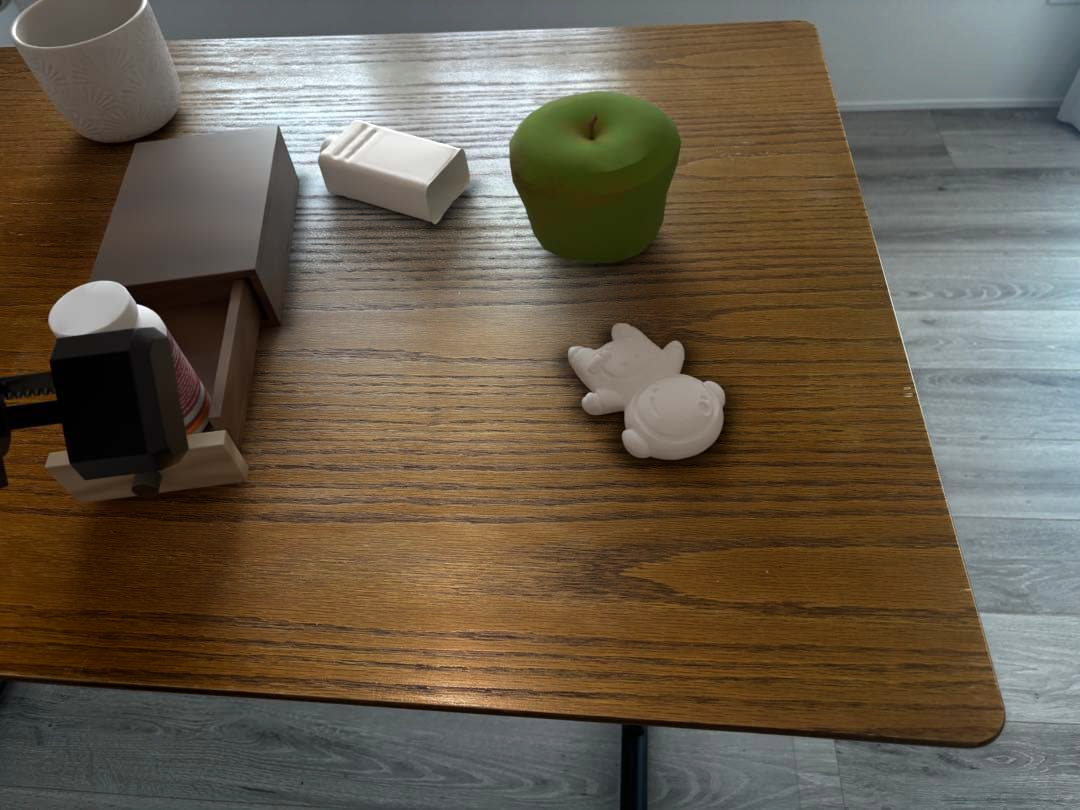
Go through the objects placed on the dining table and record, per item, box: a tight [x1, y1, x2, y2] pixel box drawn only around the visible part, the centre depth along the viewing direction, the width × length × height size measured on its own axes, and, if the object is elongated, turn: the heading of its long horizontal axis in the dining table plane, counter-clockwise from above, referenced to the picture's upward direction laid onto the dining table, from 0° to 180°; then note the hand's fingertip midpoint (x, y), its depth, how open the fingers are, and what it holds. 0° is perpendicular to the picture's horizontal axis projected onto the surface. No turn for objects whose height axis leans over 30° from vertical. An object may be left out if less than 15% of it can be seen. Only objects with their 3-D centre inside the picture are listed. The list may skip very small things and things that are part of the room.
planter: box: [9, 0, 182, 144], centre depth 81 cm, size 12×12×11 cm
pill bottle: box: [47, 281, 211, 435], centre depth 53 cm, size 6×6×11 cm
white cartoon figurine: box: [567, 322, 726, 461], centre depth 57 cm, size 9×12×3 cm
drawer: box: [44, 277, 263, 504], centre depth 59 cm, size 19×11×4 cm, turn 6°
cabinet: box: [87, 124, 300, 329], centre depth 69 cm, size 18×12×6 cm
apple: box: [508, 90, 682, 265], centre depth 64 cm, size 12×12×11 cm
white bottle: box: [317, 119, 471, 225], centre depth 73 cm, size 6×13×4 cm, turn 62°
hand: (62, 402), depth 45 cm, fingers open, 9 cm apart
